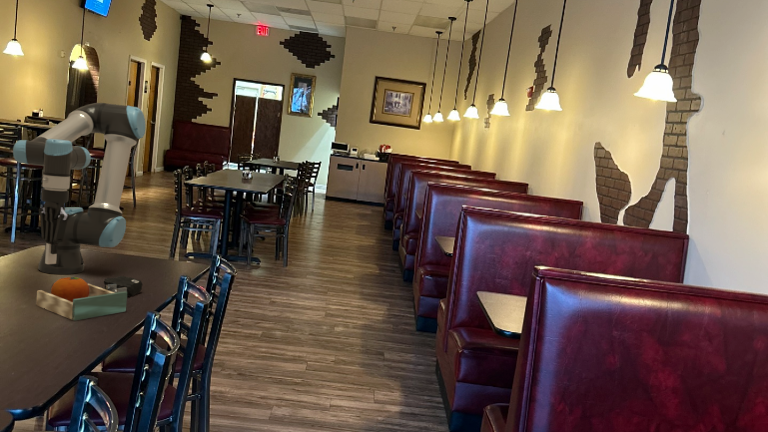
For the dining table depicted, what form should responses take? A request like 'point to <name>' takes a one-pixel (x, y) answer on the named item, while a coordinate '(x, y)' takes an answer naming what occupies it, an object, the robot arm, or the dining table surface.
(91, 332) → the dining table surface
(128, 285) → the rock
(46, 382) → the dining table surface
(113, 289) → the dark grey bracket
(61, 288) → the fruit
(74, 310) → the bay
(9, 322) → the dining table surface
